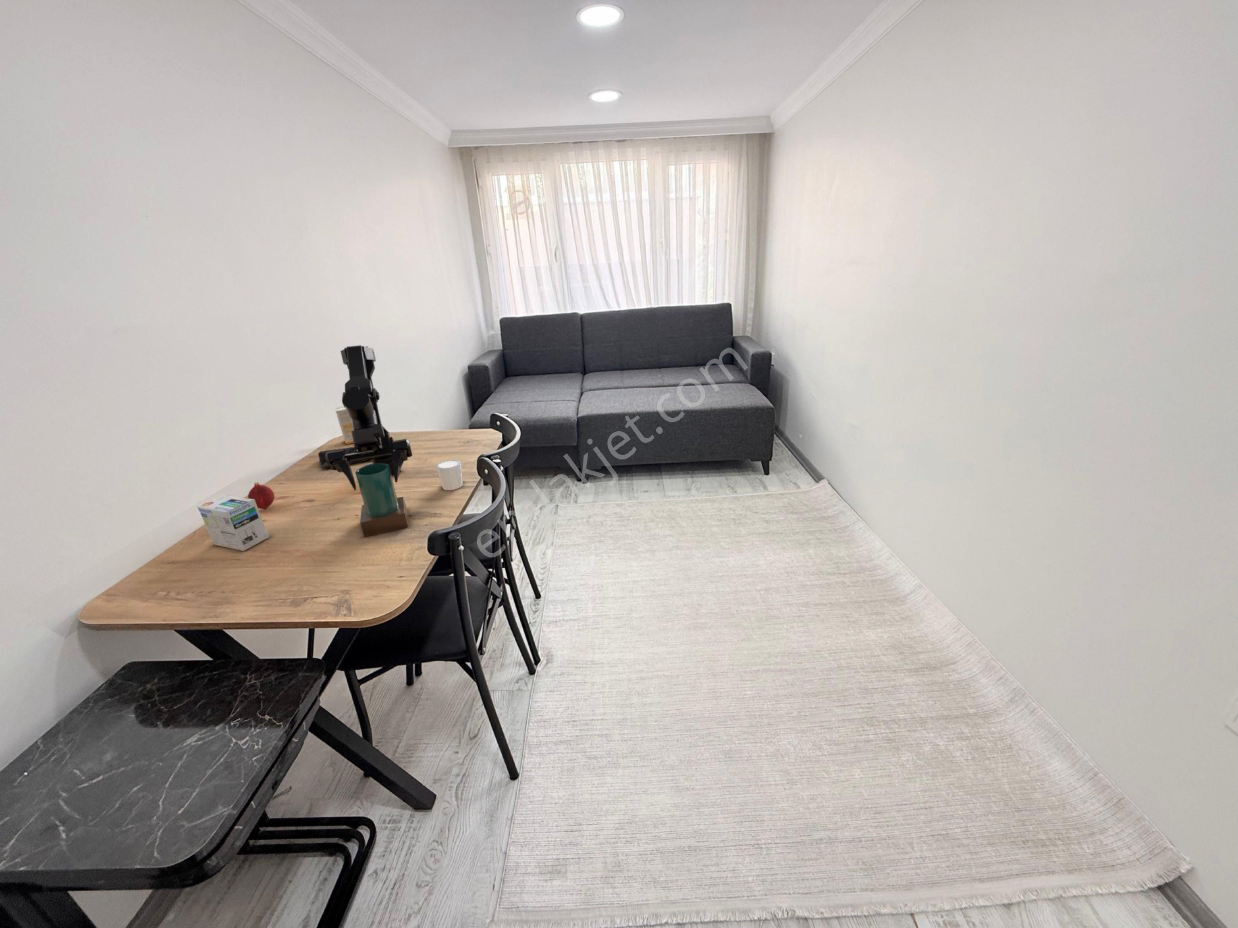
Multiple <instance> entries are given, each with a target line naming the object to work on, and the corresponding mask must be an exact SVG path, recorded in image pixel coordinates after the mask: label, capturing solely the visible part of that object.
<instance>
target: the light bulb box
mask: <svg viewBox="0 0 1238 928" xmlns="http://www.w3.org/2000/svg"><path fill="white" fill-rule="evenodd" d="M196 508H197V509H198V512H199V514H200V516H201V518H202V521H203V523H204V525H205V527H206V531H207V532H208V534H209V536H210V538H211V542H212V543H213V545H214V546H220V547H222V548H223V547H224V548H227V549H232V550H237V551H242V552H245V551H246V550H249V549H250V548H252V547H253V546H256V545H257V544H259V543H261V542H263V541H265V540H267V539H268V538H270V535H269V533H268V530H267V528H266V526H265V523H264V520H263V518H262V515H261V512H260V509H259V508H258V507H257V505H256V502H255V499H249V498H248V497H240V496H233V495H228V494H223V495H221V496H217V497H215V498H212V499H211V500H209V501H206V502H204V503H201V504H199V505H197V507H196Z"/></svg>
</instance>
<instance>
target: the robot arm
mask: <svg viewBox="0 0 1238 928" xmlns="http://www.w3.org/2000/svg"><path fill="white" fill-rule="evenodd" d="M375 354H376V353H375V350H374V348H373V347H369V346H368V345H367V346H364V345H361V344H360V345H359V344H358V345H350V346H346V347H343V349H342V350H340V355H341V360H342V364H343V365H345V366H346V367H347V369H348V380H347V381H346V382H345V383H344V392H343V391H342V396H341V403H342V406H343V407H345V408H346V410H347V412H348V414H349V416H350V418H351V419H352V423H353V430H354V431H351V433H352V437H353V442H354V443H353V447H354V448H355V450H356V449H357V452H355V453H349V454H346V453H345V451H344V450H343V449H342V448H340V449H341V450H335V449H334V450H335V451H329V452H327V454H326V455H325V457H326V462H327V464H328V465H329V467H330V468H329V469H330V470H331V471H336V472H337V473H343V474H344V476H345V477H346V478H347V480H348V482H349V484H350V485H351V487H352V489H353V491H357V485H356V481H355V477H354V473H353V470H352V468H351V466H350V464H349V462H350V461H356V460H361V459H366V461H367V462H369V461H371V462H372V464H375V463H385V464H388V465H389V468H390V472H391V476H392V477H393V479H394V482H395V483H398V480H399V477H400V474H401V472H402V470H401V469H402V467H403V465H404V462H406V461H408V460H409V459H408V458H411V457H413V452H412V447H411V444H410V440H408V439H407V438H402V439H396V440H395V439H394V438H393V436H390V431H388V430H387V428H385V426H383V424H382V420H381V415H380V410H379V405H378V402H379V400H380V397H381V396H380V392H379V391H378V390H377V388H375V387H374V382H373V379H372V376H373V374H374V372H375V369H376V366H375V362H377V359H376V355H375Z"/></svg>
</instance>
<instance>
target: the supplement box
mask: <svg viewBox="0 0 1238 928" xmlns="http://www.w3.org/2000/svg"><path fill="white" fill-rule="evenodd" d="M334 409H335V414H336V417H337V421H338V423H339V428H340V431H341V434H342V437H343V440H344V442H345V445H349V444H354V442H353V437H352V433H351V431H354V430H353V423H352V419H351V418H350V416H349V414H348V412H347V410H346V408H345V407H344V406H339V407H338V406H337V407H335V408H334Z"/></svg>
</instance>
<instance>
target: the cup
mask: <svg viewBox="0 0 1238 928" xmlns="http://www.w3.org/2000/svg"><path fill="white" fill-rule="evenodd" d="M354 473H355V477H356V480H357V485H358V488H359V491H360V495H361V498H362V502H363V505H364V506H365V509H366V512H367V514H368V515H370V516H382V515H386V514H389V513H392V512H393V511H395V510H396V509H397V508H398V506H399V505H398V500H397V498H398V497H397V493H396V489H395V485H394V480H393V476H391V472H390V468H389V465H388V464H385V463H375V464H373V463H370V464H366V465H364V466H361V467H359V468H357V469H356V470H355V471H354Z"/></svg>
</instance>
